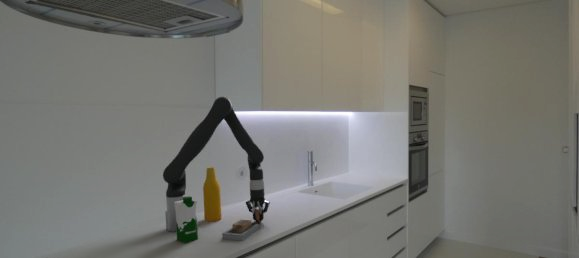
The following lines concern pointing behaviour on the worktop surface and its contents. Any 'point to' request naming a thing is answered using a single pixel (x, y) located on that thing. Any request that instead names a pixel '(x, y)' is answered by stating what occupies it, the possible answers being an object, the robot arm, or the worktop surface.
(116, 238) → the worktop surface
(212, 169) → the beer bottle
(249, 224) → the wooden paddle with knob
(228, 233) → the lane
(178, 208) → the milk carton
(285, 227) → the worktop surface
